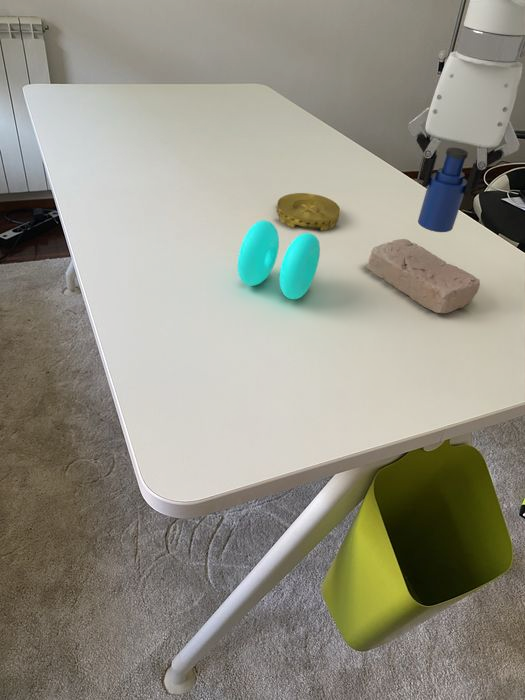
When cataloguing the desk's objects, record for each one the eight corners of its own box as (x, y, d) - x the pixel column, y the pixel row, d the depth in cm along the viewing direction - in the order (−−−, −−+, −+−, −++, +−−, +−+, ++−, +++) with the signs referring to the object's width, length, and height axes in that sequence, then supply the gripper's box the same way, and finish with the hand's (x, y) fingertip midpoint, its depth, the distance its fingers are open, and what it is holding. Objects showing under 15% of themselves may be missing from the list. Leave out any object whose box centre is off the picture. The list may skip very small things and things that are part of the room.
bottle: (454, 221, 84) (478, 149, 77) (450, 235, 80) (475, 160, 73) (420, 213, 85) (441, 141, 78) (415, 226, 81) (436, 152, 74)
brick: (363, 269, 92) (369, 244, 89) (398, 257, 96) (404, 233, 93) (439, 320, 82) (448, 294, 79) (474, 305, 87) (484, 280, 84)
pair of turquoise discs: (260, 265, 91) (266, 208, 84) (317, 283, 88) (326, 225, 81) (232, 293, 83) (236, 233, 77) (293, 313, 80) (301, 253, 74)
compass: (336, 206, 111) (338, 196, 110) (339, 234, 102) (341, 223, 100) (277, 200, 111) (278, 190, 110) (275, 227, 102) (276, 216, 100)
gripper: (562, 53, 68) (508, 192, 80) (425, 32, 73) (393, 167, 84) (563, 64, 63) (505, 212, 74) (415, 40, 67) (382, 183, 78)
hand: (446, 186), depth 79 cm, fingers closed on bottle, 5 cm apart
